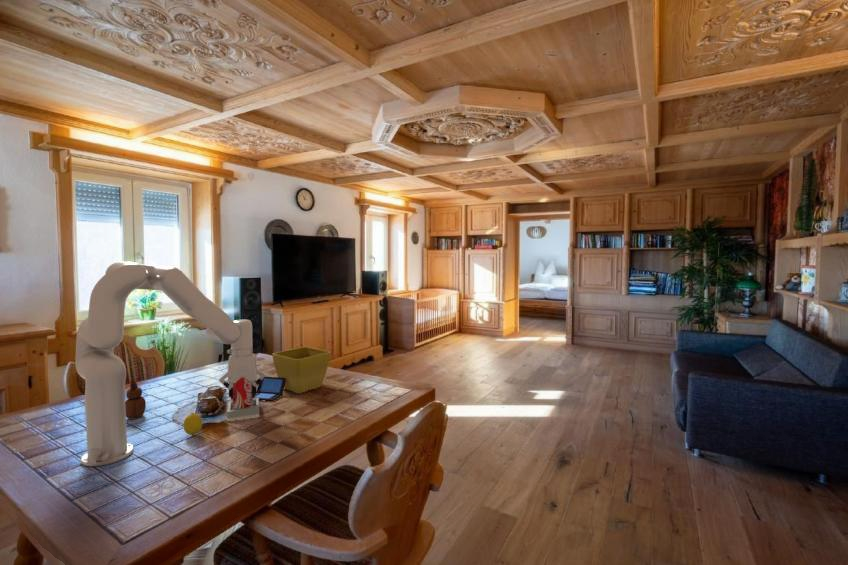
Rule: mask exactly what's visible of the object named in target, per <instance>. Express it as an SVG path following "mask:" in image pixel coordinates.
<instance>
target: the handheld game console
mask: <svg viewBox="0 0 848 565" xmlns="http://www.w3.org/2000/svg"><path fill="white" fill-rule="evenodd" d="M285 382H286V379H285V378H279V377H278V376H277V377H276V376H266V375H265V377H264V378H263V379H262V380H261V382H260V383H259V384H258V385H257V387H256V394H254V396H255V397H253V399H254V398H259V400H265V401H264V402H268V401H274V400H276V399H277V398H279V397H280V396H282V395H283V393H284V390H285V389H284V386H285ZM282 397H283V396H282ZM280 398H281V397H280ZM280 398H279V399H280ZM277 400H278V399H277ZM277 400H276V401H277ZM274 402H275V401H274Z"/></svg>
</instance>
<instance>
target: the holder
mask: <svg viewBox="0 0 848 565" xmlns="http://www.w3.org/2000/svg"><path fill="white" fill-rule="evenodd" d="M257 417H259V418H260V401H259V398H254V399H253V405H252V406H251V408H245V409H237V410H235V409H234V408H233V400H229V401H228V404H227V409H226V422H227V421H231V422H236V421H235V420H238V421H244V420H243V419H245V420H251V419H250V418H252V419H258V418H257Z"/></svg>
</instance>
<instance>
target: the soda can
mask: <svg viewBox="0 0 848 565" xmlns="http://www.w3.org/2000/svg"><path fill="white" fill-rule="evenodd" d="M239 378H240V379H239V380H238V381H237V382H236V383H233V386H232V387H233V399H232V401H233V408H234V409H235V410H237V409H245V408H251V406H252V405H253V395H252V387H253V384H252V381H251V382H249V381H248V380H247V379H245V377H239Z"/></svg>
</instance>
